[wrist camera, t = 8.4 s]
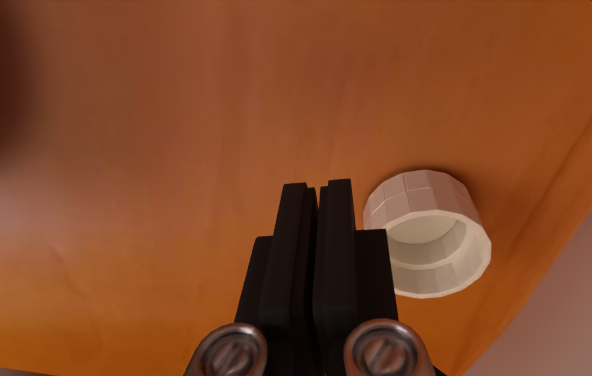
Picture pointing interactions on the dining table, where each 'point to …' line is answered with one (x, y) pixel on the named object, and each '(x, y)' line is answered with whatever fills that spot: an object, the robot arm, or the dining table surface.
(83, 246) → the dining table surface
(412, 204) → the small bowl
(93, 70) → the dining table surface
